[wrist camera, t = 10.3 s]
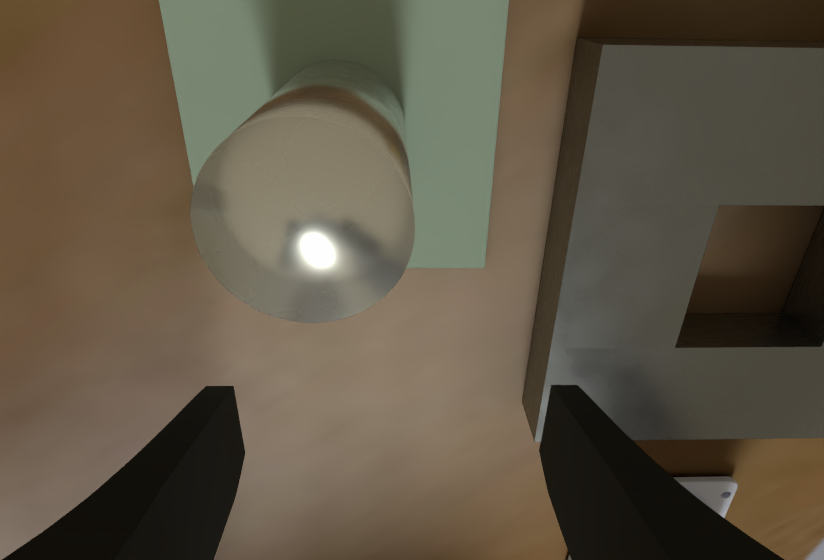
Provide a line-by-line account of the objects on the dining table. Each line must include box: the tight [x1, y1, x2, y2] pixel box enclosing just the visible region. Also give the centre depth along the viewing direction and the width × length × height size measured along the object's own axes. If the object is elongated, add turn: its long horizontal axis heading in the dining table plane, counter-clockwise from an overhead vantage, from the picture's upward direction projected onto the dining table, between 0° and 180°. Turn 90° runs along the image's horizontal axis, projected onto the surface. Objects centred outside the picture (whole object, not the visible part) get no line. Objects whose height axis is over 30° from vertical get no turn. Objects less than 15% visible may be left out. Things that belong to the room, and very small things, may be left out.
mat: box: [159, 0, 509, 268], centre depth 19 cm, size 11×11×1 cm
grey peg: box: [191, 59, 415, 323], centre depth 15 cm, size 4×4×9 cm
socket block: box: [522, 38, 824, 442], centre depth 21 cm, size 16×16×2 cm
